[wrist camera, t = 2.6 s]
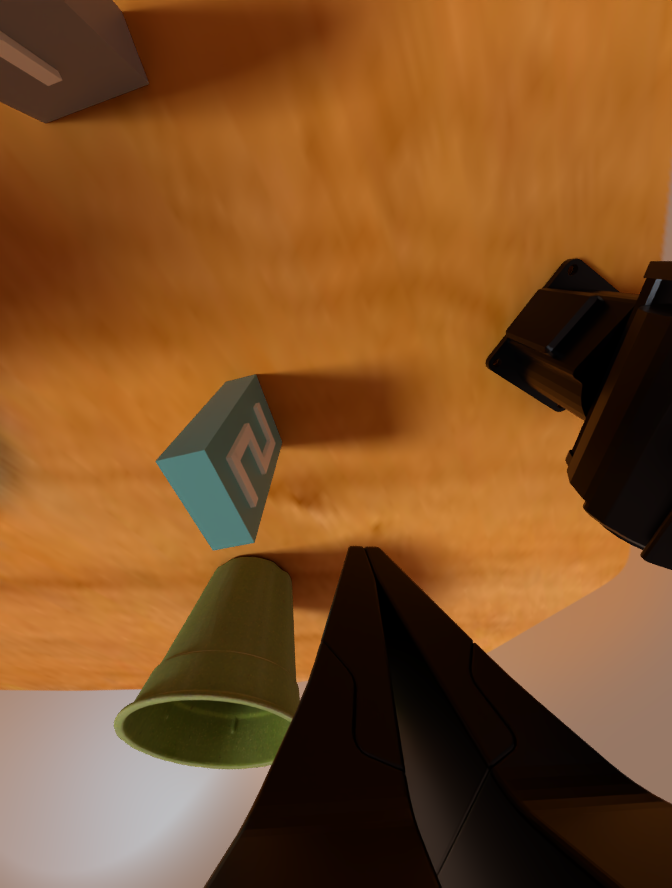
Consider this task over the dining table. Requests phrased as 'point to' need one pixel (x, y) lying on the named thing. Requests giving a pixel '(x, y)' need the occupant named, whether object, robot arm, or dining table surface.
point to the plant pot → (223, 676)
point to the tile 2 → (226, 463)
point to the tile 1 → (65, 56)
